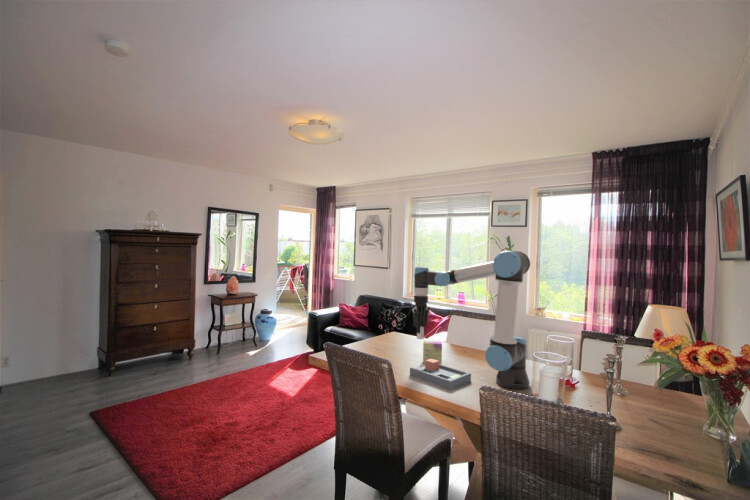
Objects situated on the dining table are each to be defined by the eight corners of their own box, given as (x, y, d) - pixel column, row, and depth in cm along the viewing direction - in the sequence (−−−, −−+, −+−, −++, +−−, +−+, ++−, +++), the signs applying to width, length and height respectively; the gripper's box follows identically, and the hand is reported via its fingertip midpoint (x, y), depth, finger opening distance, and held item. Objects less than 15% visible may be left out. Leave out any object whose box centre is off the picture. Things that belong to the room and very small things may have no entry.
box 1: (440, 361, 206) (441, 341, 206) (441, 364, 201) (442, 343, 201) (422, 360, 207) (423, 340, 208) (423, 363, 202) (423, 343, 202)
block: (439, 368, 186) (439, 360, 186) (433, 370, 183) (433, 362, 183) (431, 365, 190) (431, 358, 190) (425, 367, 187) (425, 360, 187)
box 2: (470, 381, 175) (470, 373, 175) (450, 390, 164) (450, 381, 164) (430, 368, 194) (430, 361, 194) (409, 375, 182) (409, 367, 182)
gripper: (423, 293, 200) (423, 335, 200) (407, 295, 191) (406, 339, 191) (434, 295, 195) (433, 338, 195) (417, 296, 185) (417, 342, 185)
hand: (420, 338), depth 193 cm, fingers closed
